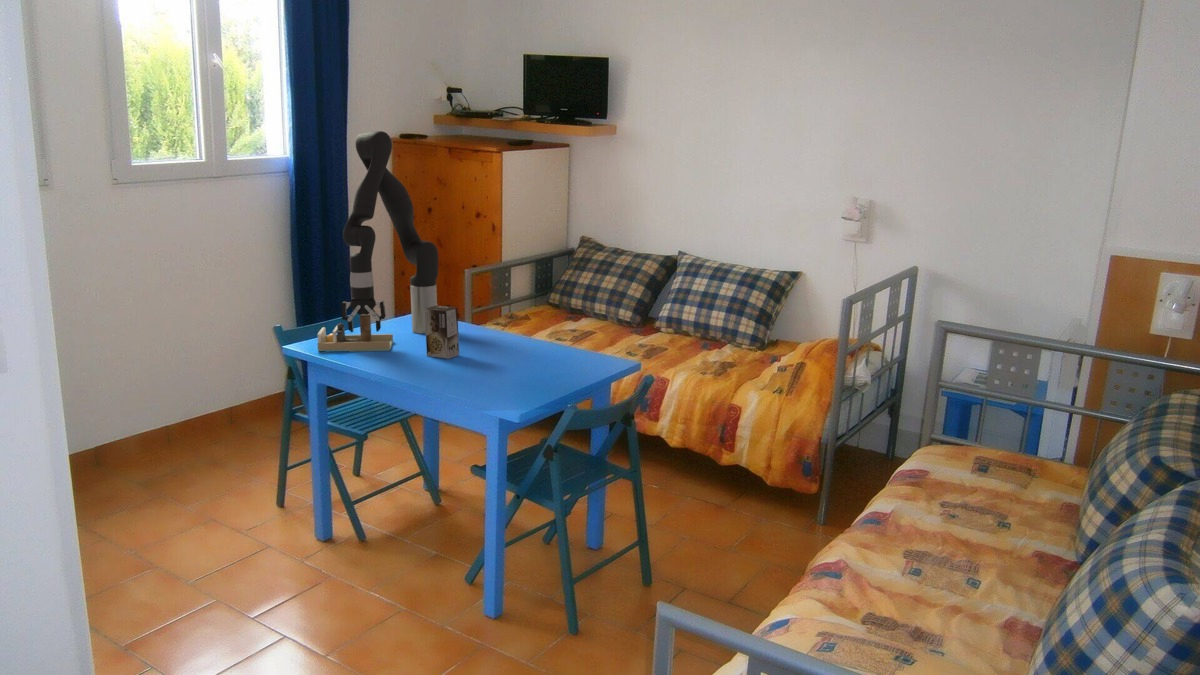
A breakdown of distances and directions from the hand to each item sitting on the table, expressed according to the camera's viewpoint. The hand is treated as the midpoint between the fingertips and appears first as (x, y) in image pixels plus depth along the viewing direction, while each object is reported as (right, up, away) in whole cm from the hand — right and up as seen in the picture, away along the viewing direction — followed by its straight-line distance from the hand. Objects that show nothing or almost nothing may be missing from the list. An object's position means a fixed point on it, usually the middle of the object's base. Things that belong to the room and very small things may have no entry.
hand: (364, 331), depth 318 cm
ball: (-11, -3, -1) cm, 11 cm away
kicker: (-4, -4, +1) cm, 5 cm away
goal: (-12, -6, 0) cm, 13 cm away
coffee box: (+28, -8, -9) cm, 31 cm away
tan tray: (-3, -5, +1) cm, 6 cm away
